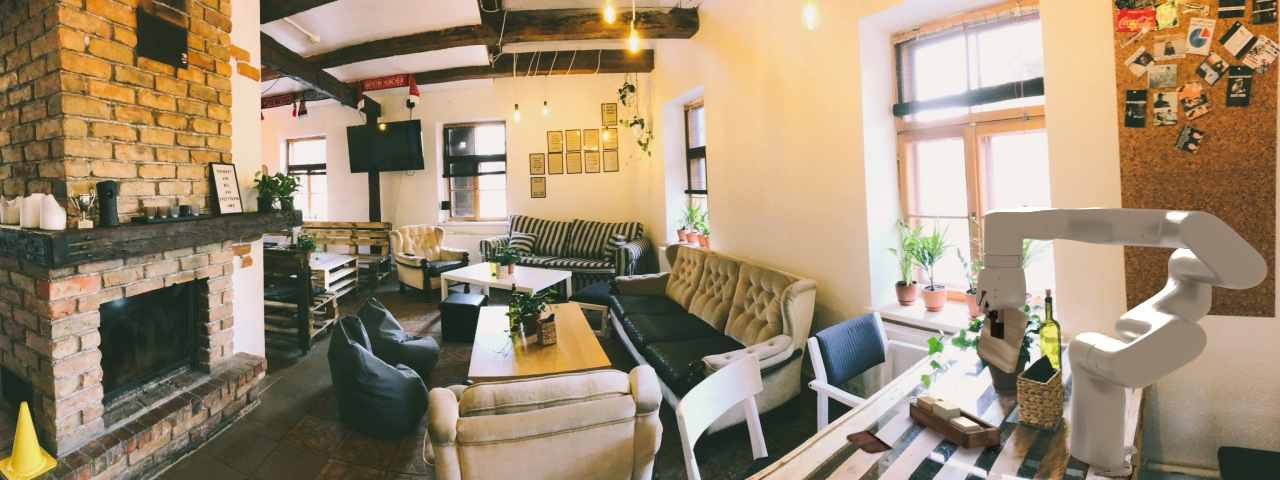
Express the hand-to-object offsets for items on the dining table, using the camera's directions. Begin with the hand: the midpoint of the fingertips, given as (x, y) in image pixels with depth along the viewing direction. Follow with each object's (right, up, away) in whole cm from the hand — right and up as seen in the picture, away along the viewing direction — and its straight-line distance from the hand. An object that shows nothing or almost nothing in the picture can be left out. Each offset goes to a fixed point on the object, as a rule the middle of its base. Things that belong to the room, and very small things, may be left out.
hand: (1001, 336), depth 121 cm
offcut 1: (-5, -28, +22) cm, 36 cm away
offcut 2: (-3, -29, +10) cm, 31 cm away
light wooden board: (0, -7, +2) cm, 7 cm away
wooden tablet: (-17, -31, +16) cm, 39 cm away
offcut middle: (-4, -29, +16) cm, 33 cm away
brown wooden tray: (-2, -30, +16) cm, 34 cm away
